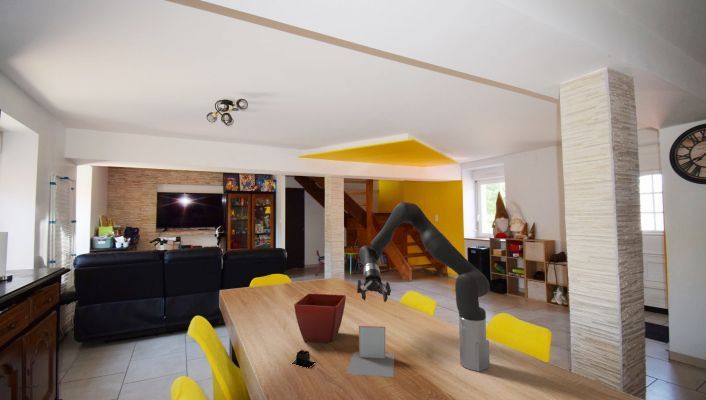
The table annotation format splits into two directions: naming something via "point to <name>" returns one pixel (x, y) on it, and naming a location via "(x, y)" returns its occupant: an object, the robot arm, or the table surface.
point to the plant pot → (320, 316)
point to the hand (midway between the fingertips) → (375, 299)
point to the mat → (372, 366)
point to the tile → (372, 341)
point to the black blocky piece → (303, 359)
